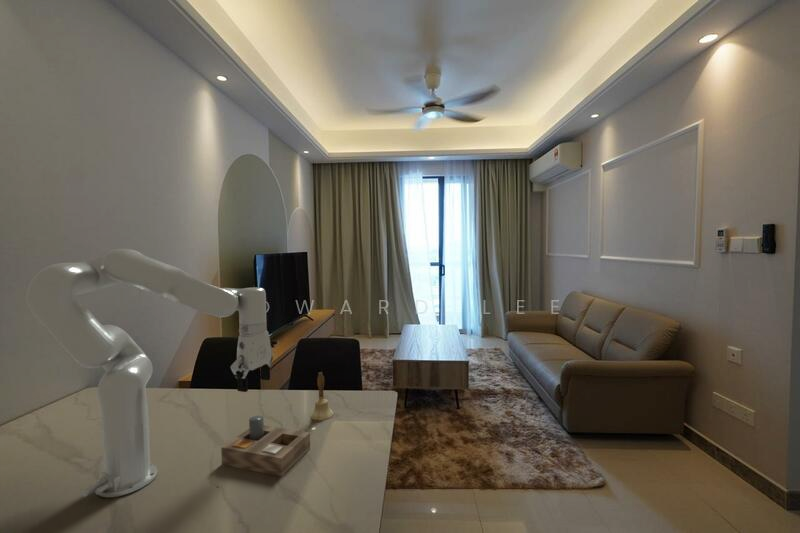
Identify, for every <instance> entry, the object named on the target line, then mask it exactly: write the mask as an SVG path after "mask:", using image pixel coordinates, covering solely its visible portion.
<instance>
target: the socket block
mask: <svg viewBox="0 0 800 533" xmlns="http://www.w3.org/2000/svg"><path fill="white" fill-rule="evenodd" d="M220 450H221V452H220V453H221V465H223V466H227V467H231V468H236V469H243V470H246V471H247V470H248V471H252V472H257V473H262V474H267V475H271V476H272V475H273V476H277V477H284V475H285V474H286V473H287V472H288V471H290V469H292V467H293V466H294V465H296V463H297V462H298V461H300V460H301V458H303V456H305V455H306V454H307V453H308V452H309V450H311V433H310V432H308V431H304V430H303V431H302V430H295V429H289V428H282V427H278V426H277V427H276V426H270V425H264V437H262V438H261V439H260V440H258V441H256V440H250V431H249V428H247V429H246V430H244V431H243V432H241V433H240V434H239V435H237V436H236V437H234V438H233V439H231V440H230V441H229V442H226V444H224V445H223V446H221V447H220Z"/></svg>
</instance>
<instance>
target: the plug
mask: <svg viewBox="0 0 800 533" xmlns="http://www.w3.org/2000/svg"><path fill="white" fill-rule="evenodd" d="M248 422H249V425H248V426H249V427H248V429H249V431H250V440H256V441H258V440H260V439H261V438H262V437H264V426H265V424H264V416H263V415H254V416H252V417H250V418H249V420H248Z"/></svg>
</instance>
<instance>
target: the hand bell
mask: <svg viewBox="0 0 800 533" xmlns="http://www.w3.org/2000/svg"><path fill="white" fill-rule="evenodd" d="M316 381H317V382H316V384H317V388H318V399H317V400H315V404H314V410H313V412H311V414H310V418H311V420H314V421H325V420H328V419H331V418H332V417H333V416H334V412H333V410H332V409H331V408H330V406H329V400H328V399H326V398H325V395H324V388H325V387H324V386H325V376H324V375H323V371H321V372H318V375H317V379H316Z"/></svg>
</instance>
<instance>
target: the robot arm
mask: <svg viewBox="0 0 800 533" xmlns="http://www.w3.org/2000/svg"><path fill="white" fill-rule="evenodd" d="M120 284H125V285H127V286H130V287H134V288H137V289H140V290H143V291H145V292H148V293H151V294H154V295H158V296H160V297H163V298H166V299H167V300H169V301H172V302H175V303H177V304H180V305H183V306H185V307H187V308H189V309H193V310H196V311H198V312H201V313H204V314H207V315H211V316H213V317H218V318H227V317H230V316H232V315H233V314H235V312H236V311H238V318H239V319H238V320H239V321H238V323H239V325H238V326H239V328H238V333H239V335H238V339H237V347H236V360H234V362H233V363H232V364H231V365H230V367H229V368H230V370H231V372H232V375H233V376H234V377H235V378H236V383H237V384H236V385H237V392H241V393H242V392H243V393H247V392H248V391H249V382H248V381H249V380H248V377H247V375H248V373H249V372H250V371H254V370H256V369H260V370H259V371H260V372H259V374H260V378H259V379H260V380H263V381H269V380H271V366H272V361H273V359H274V358H273V357H274V355H275V351H274V350H273V349H272V346H271V339H270V334H269V331H268V330H267V329H268V328H267V326H268V325H267V293H266V290H265V288H263V287H258V286H257V287H254V286H253V287H245V288H232V287H218V286H216V285H213V284H210V283H207V282H206V281H202V280H200V279H197V278H196V277H194V276H192V275H190V274H189V273H187V272H186V271H185V270H182V269H181V268H179V267H177V266H173V265H172V264H167V263H165V262H162V261H160V260H157V259H155V258H151V257H149V256H147V255H144V254H143V253H141V252H139V251H138V250H135V249H130V248H116V249H112V250H110V251H108V252H107V253H106V254H105V255H102V256H99V257H95V258H90V259H87V260H83V261H78V262H60V263H54V264H50V265H48V266H45V267H44V268H42V269H41V270H39V271H38V272H36V274H35V275H34V276H33V277H32V278H31V279H30V281H29V284H28V286H27V289H26V294H25V299H26V300H25V301H26V305H27V307H28V309H29V310H30V313H31V314H32V315H33V316H34V318H35V319H36V320H38V321H37V322H39V323H40V324H41V325H42V327H44V328H45V330H47V331H48V332H49V334H50V335H52V337H53V338H54V339H55V340H56V342H57V343H59V345H60V346H61V347H62V349H64V350H65V351H66V352H67V353H68V355H69V356H70V357H71V358H72V359H73V360H74V362H76V363H77V364H78V365H79V366H81V367H83V368H85V369H97V368H100V367H102V369H104V371H105V372H104V374H102V376H101V378H100V379H99V382H98V386H97V397H98V404H99V408H100V416H101V429H102V430H101V431H102V448H103V450H102V451H103V472H101V473H99V478H98V479H96V481H95V482H94V483H92V484H90V485H87V486H86V487H84V488H82V490H81V492H80V493H81V495H82V497H83V498H87V497H88V496H90V495H91V494H93V493H95V494H96V495H97V496H100V497H103V498H116V497H121V496H125V495H128V494H131V493H133V492H136V491H138V490H140V489H143V488H144V487H146V486H147V485H148V484H150V483H152V481H153V480H154V479H155V478H157V475H158V466H156V465H155V464H153V463H151V452H150V451H151V449H150V446H151V445H150V426H149V424H150V423H149V408H148V407H149V405H148V399H147V390H146V388H147V384H148V382H149V380H150V379H151V377H152V375H153V371H154V367H153V364H152V361H151V359H150V358H149V356H148V355H147V354H146V353H145V352H144V351H143V350H142V348H141V347H140V346H139V345H138V344H137V343H136V341H135V340H134V339H133V338H132V337H131V335H129V333H127V332H126V331H125V330H124V329H122V328H121V327H119V326H117V325H113V324H101V322H100V321H99V320H98V319H97V318H96V317H95V316H94V315H93V313H92V312H91V311H90V310H89V309H88V308H87V307H86V306H84V305H83V304H82V303H81V302H80V301H79V300H78V297H77V296H80V295H85V294H88V293H92V292H95V291H98V290H102V289H106V288H108V287H109V288H110V287H113V286H116V285H120Z"/></svg>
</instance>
